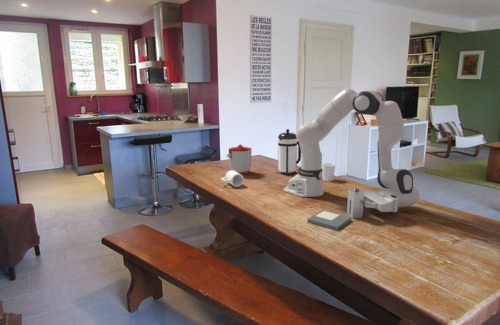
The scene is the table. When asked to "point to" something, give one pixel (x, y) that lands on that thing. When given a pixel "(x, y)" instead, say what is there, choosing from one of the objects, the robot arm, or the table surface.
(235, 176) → the mug
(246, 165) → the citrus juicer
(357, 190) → the aluminium block
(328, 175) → the white cup
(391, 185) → the robot arm
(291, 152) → the coffee press
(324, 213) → the dock board
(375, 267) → the table surface
